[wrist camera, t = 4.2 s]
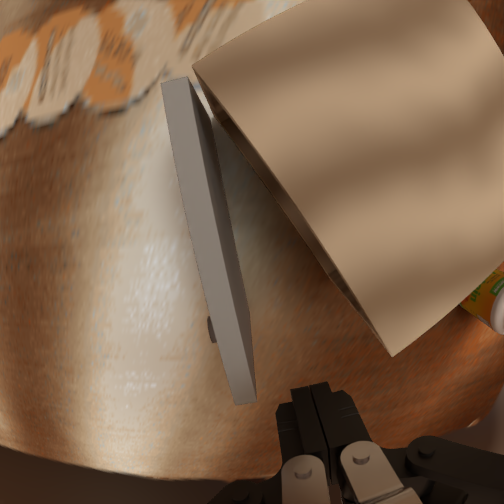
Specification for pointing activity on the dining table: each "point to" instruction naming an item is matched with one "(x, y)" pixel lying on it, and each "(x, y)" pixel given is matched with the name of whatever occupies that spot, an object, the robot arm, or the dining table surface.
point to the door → (211, 234)
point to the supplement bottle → (488, 301)
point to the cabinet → (376, 146)
